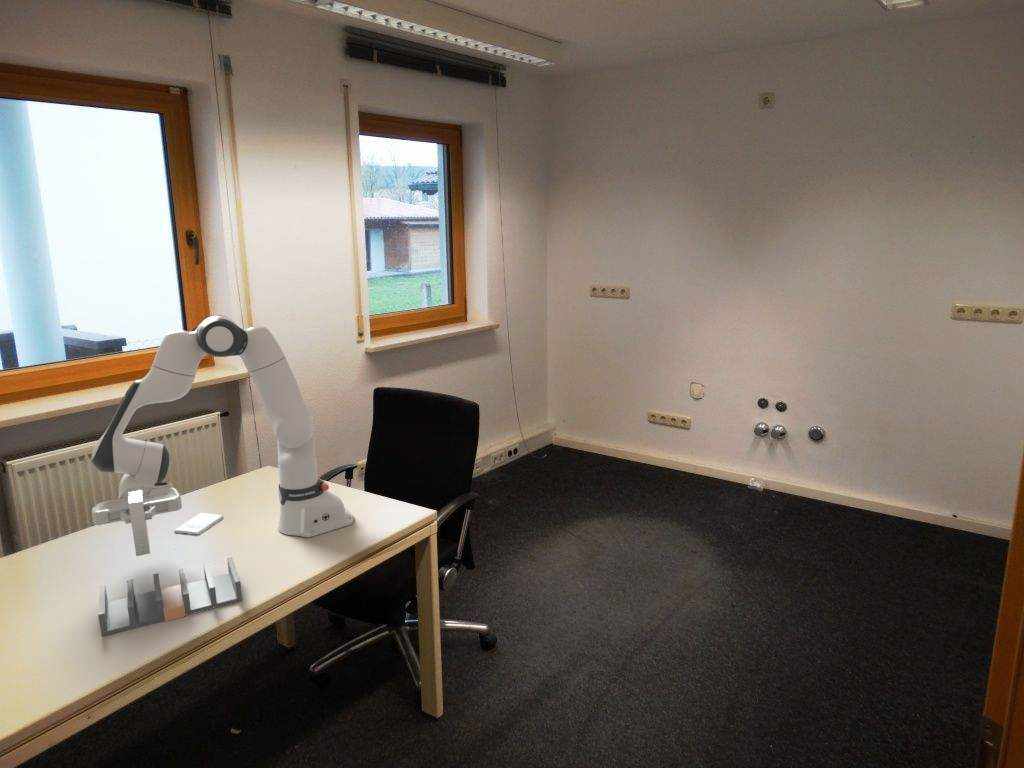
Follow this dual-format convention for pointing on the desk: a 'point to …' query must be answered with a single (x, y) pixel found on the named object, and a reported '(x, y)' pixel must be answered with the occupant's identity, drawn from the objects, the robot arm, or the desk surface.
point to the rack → (168, 600)
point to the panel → (138, 522)
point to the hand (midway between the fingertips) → (138, 518)
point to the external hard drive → (199, 523)
